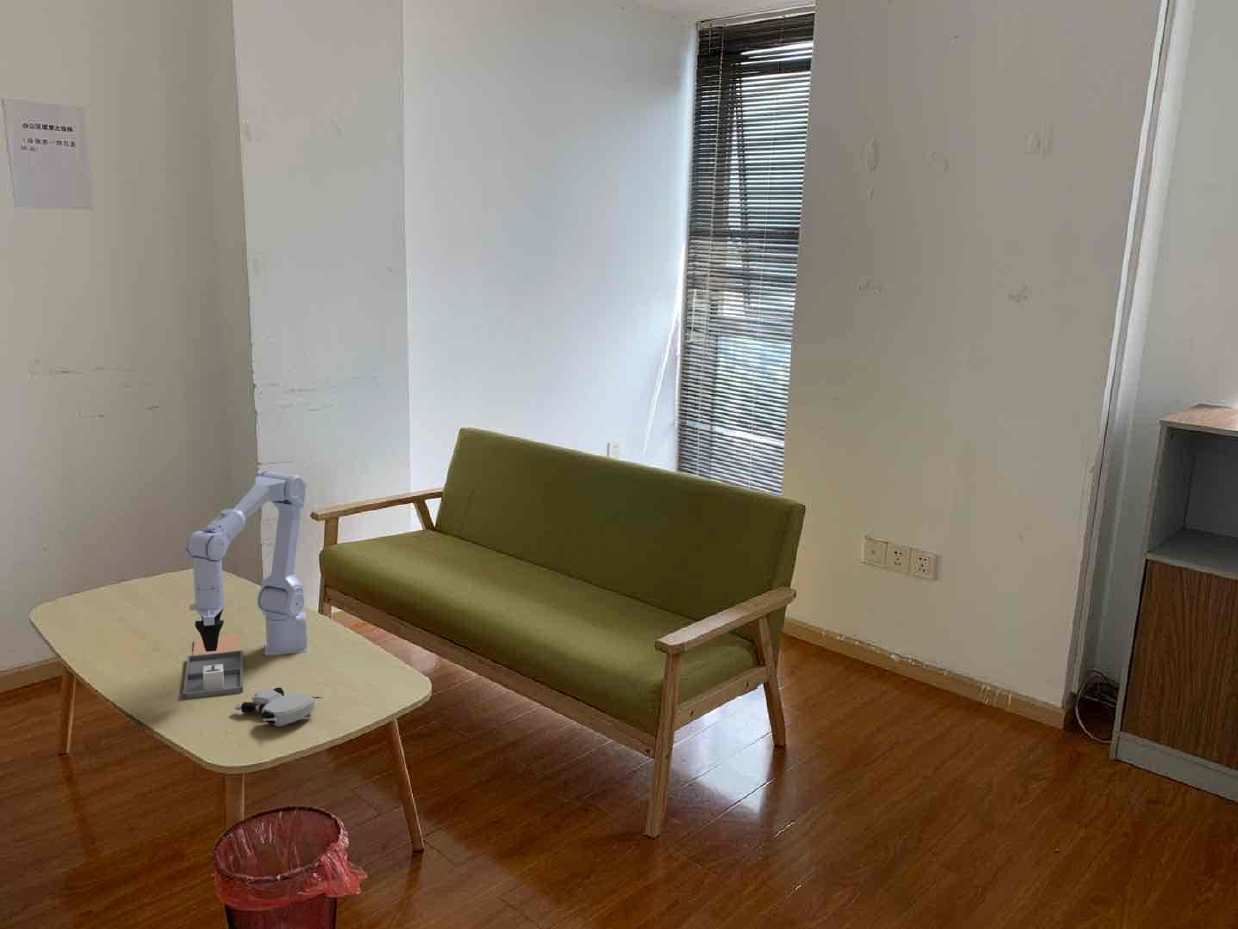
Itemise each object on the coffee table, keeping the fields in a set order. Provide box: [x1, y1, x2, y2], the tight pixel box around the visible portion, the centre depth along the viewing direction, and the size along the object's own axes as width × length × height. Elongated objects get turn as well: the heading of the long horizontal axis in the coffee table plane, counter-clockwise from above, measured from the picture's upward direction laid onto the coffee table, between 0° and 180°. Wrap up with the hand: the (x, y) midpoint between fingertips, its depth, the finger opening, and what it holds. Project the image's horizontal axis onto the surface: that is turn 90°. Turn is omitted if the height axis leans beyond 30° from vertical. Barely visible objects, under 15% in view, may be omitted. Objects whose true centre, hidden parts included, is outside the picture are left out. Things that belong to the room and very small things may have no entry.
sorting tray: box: [182, 650, 244, 700], centre depth 215 cm, size 12×20×2 cm, turn 21°
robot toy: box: [234, 686, 324, 727], centre depth 200 cm, size 12×4×15 cm
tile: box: [192, 633, 240, 655], centre depth 230 cm, size 10×10×1 cm
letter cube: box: [203, 664, 224, 690], centre depth 210 cm, size 4×4×4 cm
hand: (211, 643), depth 208 cm, fingers open, 7 cm apart
